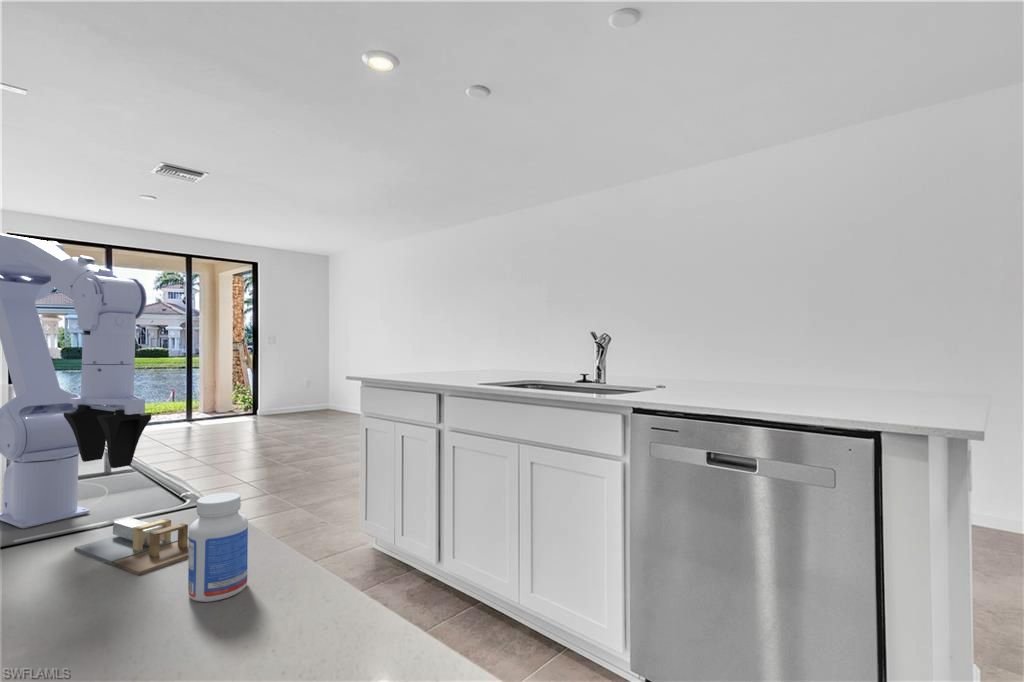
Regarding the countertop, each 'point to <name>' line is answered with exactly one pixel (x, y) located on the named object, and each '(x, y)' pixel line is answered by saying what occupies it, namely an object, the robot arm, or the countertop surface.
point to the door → (126, 544)
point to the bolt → (126, 529)
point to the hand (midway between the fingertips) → (106, 463)
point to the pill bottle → (218, 548)
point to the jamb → (158, 552)
